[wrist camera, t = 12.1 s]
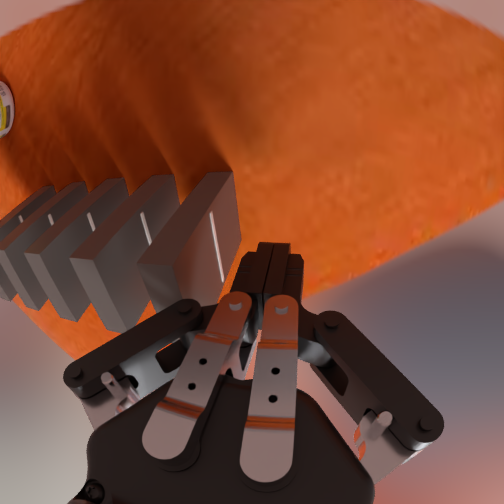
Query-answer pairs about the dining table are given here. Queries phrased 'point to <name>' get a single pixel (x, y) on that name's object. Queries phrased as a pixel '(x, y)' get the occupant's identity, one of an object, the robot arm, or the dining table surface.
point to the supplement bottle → (5, 109)
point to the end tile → (6, 225)
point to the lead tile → (194, 246)
